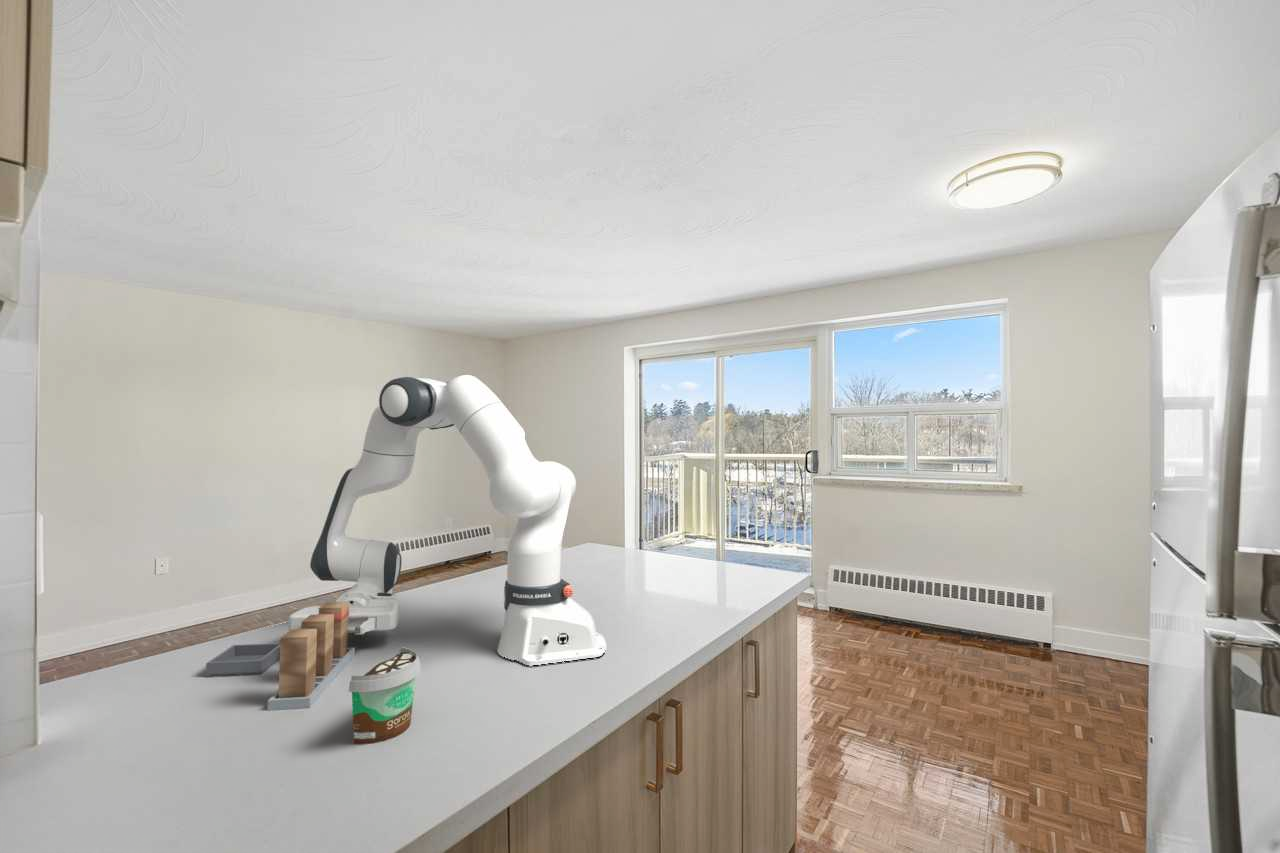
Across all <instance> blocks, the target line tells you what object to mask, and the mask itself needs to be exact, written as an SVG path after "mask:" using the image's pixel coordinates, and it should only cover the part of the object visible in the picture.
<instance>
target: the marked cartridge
mask: <svg viewBox="0 0 1280 853" xmlns="http://www.w3.org/2000/svg"><path fill="white" fill-rule="evenodd" d="M320 606H321V607H320V608H319V613H318V615H320V614H334V634H333V659H342V658H343V657H344V656H345V655H346V654H347V648H348V638H349V636H348V634H349V633H348V615H349V602H335V601H326V602H325V603H324V604H322V605H320Z"/></svg>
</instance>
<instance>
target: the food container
mask: <svg viewBox="0 0 1280 853" xmlns="http://www.w3.org/2000/svg"><path fill="white" fill-rule="evenodd" d="M421 669H422V668H421V663H420V658H419V656H418V653H417V652H416V651H415V650H413V649H411V648H409V647H408V648H407V647H403V646H400V648H399V653H398V654H396V655H395V656H393V657H392V658H390V659H388V660H384V661H382V662H380V663H378V664H376V665H374V666H373V667H372V668H371V669H370V670H369V671H367V672H366V673H365V674H363V675H353V674H352V675H351V679H350V680H349V684H348V692H349V693H350V692H351V700H352V702H351V704H352V706H351V707H352V723H353V726H352V727H353V730H352V731H353V744H356V745H367V744H377V743H383V742H386V741H390V740H391V739H394V738H397V737H399V736H400V735H402V734H404V733H405V732H406V731H407V730H408V729H409V728H410V726H411V724H412V723H411V722H412V721H411V720H412V713H413V712H412V711H413V703H414V702H413V701H414V695H415V694H414V693H415V684H416V677H417V676H418V675H419V674H420V672H421Z"/></svg>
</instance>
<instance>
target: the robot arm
mask: <svg viewBox="0 0 1280 853" xmlns="http://www.w3.org/2000/svg"><path fill="white" fill-rule="evenodd" d="M378 402H379V403H378V404H379V406H377V407H376V408H375V409H374V410H373V412H372V414H371V417H370V420H369V423H368V426H367V428H366V433H365V437H364V440H363V448H362V453H361V456H360V458H359V461H358V462H357V463H356V464H355V466H354V467H351V468H348V469H347V470H346V471H345V472H344V473H343V475H342V476H341V478H340V481H339V483H338V485H337V488H336V490H335V492H334V493H335V494H334V496H333V499H332V501H331V505H330V507H329V509H328V514H327V515H326V516H327V517H326V519H325V522H324V525H323V527H322V531H321V533H320V536H319V539H318V540H317V543H316V545H315V548H314V550H313V552H312V553H311V558H310V564H309V567H310V569H311V571H312V572H313V574H314V575H315V576H316V577H317V578H318V579H319V580H320V581H323V582H325V581H326V582H328V581H330V582H338V581H343V582H352V583H353V582H354V583H356V584H354V585H352V587H350V589H348V590H347V591H345V592H344V593H342V594H341V595H340V596H339V597H338V598H337V599H336V600H335V601H334V602H349V615H348V634H354V635H355V636H357V635H361V636H362V635H364V634H365V633H368V632H375V631H376V632H378V631H379V632H380V631H392V630H395V629H396V628H397V627H398V624H399V623H398V622H399V596H398V594H395V593H393V589H394V587H395V586H397V583H398V581H399V579H400V575H401V574H400V573H401V569H402V555H401V553H400V550H399V549H398V547H397V546H396V545H395V544H394V543H393V542H392V541H384V540H383V541H382V540H376V539H375V540H374V539H363V538H354V537H350V536H349V537H348V536H347V535H346V533H345V531H346V528H347V527H348V526H347V525H348V522H349V520H350V517H351V514H352V511H353V508H354V506H355V503H356V502H357V500H358V499H359V498H361V497H364V496H367V495H372V494H376V493H380V492H385V491H389V490H392V489H394V488H397V487H398V486H400V485H402V484H404V483H405V482H406V481H407V480H408V479H409V478H410V476H411V474H412V471H413V468H414V463H415V458H416V449H417V441H418V439H419V438H418V437H419V435H420V434H421V432H423V430H425V429H429V430H439V429H446V428H450V427H454V426H455V428H456V430H457V431H458V432H459V434H460V435H461V436H462V437H463V439H464V440H465V441H466V443H467V445H468V446H469V447H470V448H471V450H472V451H473V453H474V454H475V455H476V456H477V458H478V460H479V461H480V462H481V464H482V466H483V468H484V471H485V473H486V475H487V478H488V480H489V490H488V491H489V493H488V494H489V499H490V502H491V505H492V506H493V508H494V509H495V510H496V511H497V512H498V513H500V514H501V515H503V516H505V517H511V518H517V523H516V526H515V529H514V532H513V533H512V536H511V537H510V539H509V541H508V544H507V565H506V566H507V572H506V574H507V577H506V581H505V582H504V587H503V606H504V607H503V608H504V618H503V619H504V620H503V624H502V625H503V626H502V629H501V636H500V639H499V641H498V642H499V643H498V646H497V649H496V651H497V652H496V653H497V654H498V655H499V656H501V657H502V658H504V657H505V658H504V659H507V658H508V659H507V660H510V659H511V661H514V660H517V661H516V662H518V661H519V663H521V662H522V663H523V664H522V663H521V664H522V665H524V664H525V665H524V666H526V665H529V666H528V667H534V666H533V665H539V666H542V665H541V664H546V665H549V664H548V663H554V664H557V663H556V662H562V661H563V662H562V663H565V662H564V661H570V662H572V661H571V660H577V659H585V658H592V657H598V656H601V655H602V654H603V653H604V652H605V650H606V651H607V642H606V639H605V637H604V636H603V635H602V634H601V633H599V632H597V627H596V624H595V621H594V618H593V615H592V613H591V612H589V611H588V610H587V609H586V608H585V607H583V606H582V605H580V604H579V603H578V602H576V601H575V600H574V599H573V598H572V596H574V589H573V586H571V584H570V583H569V582H568V581H567V579H563V578H561V577H562V576H561V574H562V573H561V572H562V548H563V547H562V545H563V538H564V531H565V527H566V523H567V518H568V515H569V514H568V513H569V508H570V505H571V501H572V499H573V497H574V495H575V493H576V489H577V479H576V476H575V475H574V473H573V471H572V470H571V469H570V468H569V467H567V466H566V465H563V464H562V463H559V462H557V461H552V460H546V461H539V460H537V458H535V457H534V455H533V453H532V451H531V450H530V448H529V446H528V443H527V441H526V433H525V430H524V428H523V427H522V426H521V425H520V424H519V422H518V421H517V420H516V418H515V417H514V416H513V414H511V412H510V411H509V409H508V408H507V407H506V406H505V404H504V403H503V401H501V399H499V397H498V396H497V395H496V394H495V393H494V392H493V391H492V390H491V389H490V388H489V387H488V386H487V385H486V384H485V383H483V382H482V381H481V380H480V379H478V378H477V377H476V376H474V375H471V374H463V375H459V376H456V377H454V378H452V379H450V380H449V381H448V382H447V381H446V382H445V381H441V380H438V379H437V380H436V379H432V378H426V377H424V378H423V377H411V376H402V377H397V378H394V379H391V380H389V381H388V382H386V384H384V386H383V387H382V388H381V391H380V394H379V398H378ZM321 606H322V605H313V606H307V607H304V608H301V609H300V610H297V611H296V612H295V611H294V613H291V614H290V615H289V617H288V622H287V623H288V624H287V630H288V632H289V631H290V630H293V629H301V622H302V621H303V620H304V619H306V618H307V617H308V616H310V615H318V613H319V608H320V607H321ZM605 653H606V652H605Z"/></svg>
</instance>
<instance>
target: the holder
mask: <svg viewBox="0 0 1280 853" xmlns="http://www.w3.org/2000/svg"><path fill="white" fill-rule="evenodd" d="M355 653H356V647H347V654H346V655H345V656H344V657H343V658H342V659H333V664H332V670H331V671H330V672H329V674H328V675H327V676H319V677H315V689H314V690H313V691H312V692H311V694H310V695H309V696H308V697H295V698H278V697H279V689H278V690H277V691H276V692H275V693H274V694H273V695H272V696H271V697H270V698H269V699H268V700H267V707H266V708H267V711H274V710H276V711H278V710H293V709H309V708H311V707H312V706H313V705H314V704H315V702H316V701H317V700H318V699H319V698H320V697H321V695H323V693H324V692H325V690H326V689H327V688H329V686H330V685H331V684H332V682H334V680H335V679H336V678H337V676H338V675H339V674H340V673H341V672H342V671H343V669H344V668H345V667H346V666H347V665H348V664H349V663H350V661H351V660H352V659H353V658H354V656H355V655H356V654H355Z"/></svg>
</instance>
